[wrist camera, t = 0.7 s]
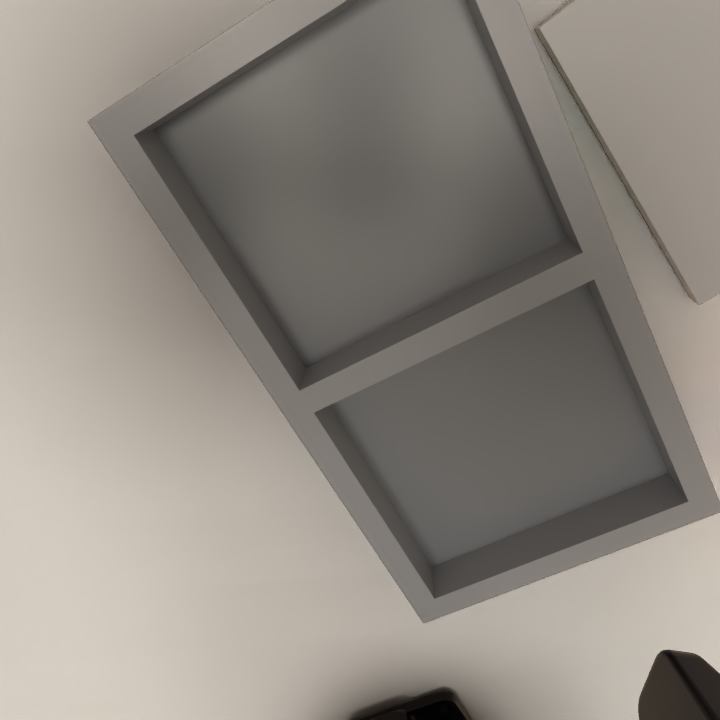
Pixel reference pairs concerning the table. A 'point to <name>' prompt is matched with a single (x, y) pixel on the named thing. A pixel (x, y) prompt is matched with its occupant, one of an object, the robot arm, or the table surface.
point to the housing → (420, 284)
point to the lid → (653, 114)
